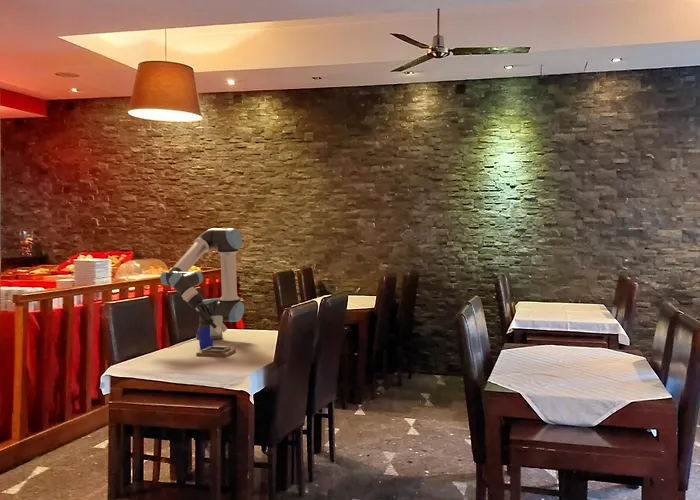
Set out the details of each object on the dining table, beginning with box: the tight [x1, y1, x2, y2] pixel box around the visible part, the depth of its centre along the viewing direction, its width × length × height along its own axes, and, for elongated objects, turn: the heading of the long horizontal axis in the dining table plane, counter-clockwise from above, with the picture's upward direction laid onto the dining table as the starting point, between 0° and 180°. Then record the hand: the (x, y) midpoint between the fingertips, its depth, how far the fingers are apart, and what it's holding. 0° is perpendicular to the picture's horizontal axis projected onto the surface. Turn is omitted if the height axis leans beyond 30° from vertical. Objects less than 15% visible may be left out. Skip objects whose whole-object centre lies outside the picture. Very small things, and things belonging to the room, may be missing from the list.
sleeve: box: [210, 315, 224, 340], centre depth 307 cm, size 6×6×11 cm
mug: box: [198, 328, 214, 349], centre depth 327 cm, size 8×12×10 cm
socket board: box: [195, 345, 237, 358], centre depth 307 cm, size 15×15×3 cm
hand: (223, 331), depth 306 cm, fingers closed on sleeve, 6 cm apart
